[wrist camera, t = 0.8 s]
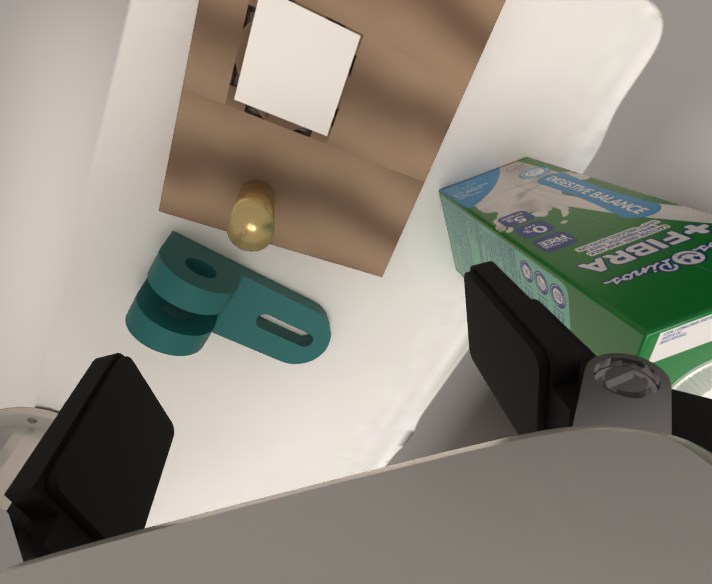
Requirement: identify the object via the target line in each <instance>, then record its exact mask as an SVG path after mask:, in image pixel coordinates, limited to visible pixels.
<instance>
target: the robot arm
mask: <svg viewBox="0 0 712 584" xmlns="http://www.w3.org/2000/svg"><path fill="white" fill-rule="evenodd" d="M464 283H465V297H466V310H467V324H468V337H469V349H470V353H471V356H472V359H473V361H474V363H475V364H476V366H477V368H478V369H479V371H480V373H481V374H482V376H483V378H484V379H485V381H486V382H487V384H488V386H489V387H490V389H491V390H492V392H493V394H494V396H495V397H496V399H497V400H498V402H499V404H500V405H501V407H502V409H503V410H504V412H505V414H506V415H507V417H508V418H509V420H510V422H511V423H512V425H513V426H514V428H515V430H516V431H517V433H518V435H517V436H512V437H508V438H503V439H499V440H495V441H490V442H486V443H482V444H477V445H473V446H469V447H464V448H460V449H456V450H452V451H447V452H443V453H439V454H435V455H431V456H427V457H423V458H419V459H415V460H412V461H407V462H403V463H399V464H395V465H391V466H387V467H383V468H379V469H375V470H371V471H367V472H363V473H359V474H355V475H351V476H347V477H343V478H339V479H335V480H331V481H327V482H323V483H319V484H315V485H311V486H308V487H304V488H300V489H296V490H292V491H288V492H284V493H280V494H276V495H272V496H268V497H264V498H261V499H257V500H253V501H249V502H245V503H241V504H237V505H233V506H229V507H225V508H222V509H218V510H214V511H210V512H206V513H202V514H198V515H195V516H191V517H187V518H183V519H179V520H176V521H172V522H168V523H164V524H160V525H156V526H153V527H149V528H145V525H146V521H147V518H148V515H149V512H150V509H151V506H152V503H153V500H154V496H155V493H156V490H157V487H158V484H159V481H160V478H161V474H162V471H163V468H164V465H165V462H166V459H167V456H168V452H169V449H170V446H171V443H172V440H173V437H174V427H173V424H172V422H171V420H170V419H169V417H168V416H167V414H166V412H165V411H164V409H163V408H162V406H161V405H160V403H159V401H158V400H157V398H156V397H155V395H154V393H153V392H152V390H151V389H150V387H149V385H148V384H147V382H146V381H145V379H144V378H143V376H142V374H141V373H140V371H139V370H138V368H137V366H136V365H135V363H134V362H133V360H132V359H131V358H130V357H127V356H126V357H125V356H124V355H122V354H120V353H116V354H112V355H108V356H104V357H100V358H97V359H95V360H94V361H93V362H92V364H91V365H90V367H89V368H88V370H87V371H86V373H85V374H84V376H83V377H82V379H81V380H80V382H79V383H78V385H77V386H76V388H75V389H74V391H73V392H72V394H71V395H70V397H69V398H68V400H67V401H66V403H65V404H64V406H63V407H62V409H61V410H60V412H59V413H56V412H53V411H49V410H45V409H39V408H30V407H29V408H28V407H16V408H15V407H14V408H5V409H0V584H712V399H710V398H706V397H702V396H698V395H694V394H690V393H686V392H682V391H678V390H674V389H672V386H671V382H670V379H669V377H668V375H667V374H666V373H665V372H664V370H663V369H661V368H660V367H659V366H657V365H656V364H654V363H653V362H651V361H649V360H646V359H644V358H642V357H638V356H635V355H631V354H624V353H608V354H603V355H600V356H596V355H595V354H594V353H593V352H592V351H591V350H590V349H589V348H588V347H587V346H586V345H585V344H584V343H583V342H582V341H581V340H580V339H579V338H578V337H577V336H576V335H574V334H573V333H572V332H571V331H570V330H569V329H568V328H567V327H566V326H565V325H564V324H563V323H562V322H561V321H560V320H559V319H558V318H557V317H556V316H555V315H554V314H553V313H551V312H550V311H549V310H548V309H547V308H546V307H545V306H544V305H543V304H542V303H541V302H540V301H538V300H537V299H531V298H530V297H529V296H528V295H527V294H526V293H525V292H524V291H523V290H521V289H520V288H519V287H518V286H517V285H516V284H515V283H514V282H513V281H512V280H511V279H510V278H509V277H508V276H507V275H506V274H505V273H504V272H503V271H502V270H501V269H500V268H499V267H498V266H497V265H496V264H495V263H494V262H493V261H488V262H484V263H480V264H476V265H472V266H471V267H470V272H466V273H465V274H464ZM144 528H145V529H144Z"/></svg>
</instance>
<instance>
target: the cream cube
mask: <svg viewBox="0 0 712 584" xmlns="http://www.w3.org/2000/svg"><path fill="white" fill-rule="evenodd" d="M360 37H361V36H360V35H358V34H356V33H354V32H352V31H350V30H348V29H346V28H344V27H342V26H339V25H337V24H335V23H333V22H331V21H329V20H327V19H325V18H323V17H321V16H319V15H317V14H315V13H313V12H311V11H309V10H307V9H305V8H303V7H301V6H299V5H297V4H295V3H293V2H290V1H288V0H258V2H257V7H256V11H255V15H254V19H253V23H252V27H251V32H250V36H249V40H248V44H247V48H246V52H245V56H244V61H243V65H242V69H241V73H240V77H239V81H238V85H237V90H236V94H235V98H234V100H237V101H239V102H242V103H244V104H247V105H249V106H252V107H254V108H257V109H259V110H262V111H264V112H267V113H269V114H272V115H275V116H277V117H280V118H282V119H285V120H287V121H290V122H292V123H295V124H297V125H300V126H302V127H305V128H307V129H310V130H312V131H315V132H317V133H320V134H322V135H325V136H327V135H328V132H329V129H330V126H331V123H332V120H333V117H334V114H335V111H336V108H337V105H338V102H339V99H340V96H341V93H342V90H343V87H344V84H345V81H346V78H347V75H348V72H349V69H350V66H351V63H352V60H353V57H354V54H355V51H356V48H357V46H358V43H359V40H360Z"/></svg>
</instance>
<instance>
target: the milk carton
mask: <svg viewBox="0 0 712 584" xmlns="http://www.w3.org/2000/svg"><path fill="white" fill-rule="evenodd" d="M439 192H440V196H441V201H442V206H443V210H444V215H445V219H446V224H447V228H448V233H449V237H450V242H451V247H452V251H453V256H454V260H455V265H456V269H457V271H458V272H459V273H460V274H461V275H462V276H463V277H464V274H465V273H466V272H470V267H471V266H472V265H476V264H480V263H484V262H488V261H493V262H494V263H495V264H496V265H497V266H498V267H499V268H500V269H501V270H502V271H503V272H504V273H505V274H506V275H507V276H508V277H509V278H510V279H511V280H512V281H513V282H514V283H515V284H516V285H517V286H518V287H519V288H520V289H521V290H523V291H524V292H525V293H526V294H527V295H528V296H529V297H530V298H531V299H537V300H538V301H540V302H541V303H542V304H543V305H544V306H545V307H546V308H547V309H548V310H549V311H550V312H551V313H553V314H554V315H555V316H556V317H557V318H558V319H559V320H560V321H561V322H562V323H563V324H564V325H565V326H566V327H567V328H568V329H569V330H570V331H571V332H572V333H573V334H574V335H576V336H577V337H578V338H579V339H580V340H581V341H582V342H583V343H584V344H585V345H586V346H587V347H588V348H589V349H590V350H591V351H592V352H593V353H594V354H595V355H596V356H600V355H603V354H608V353H624V354H631V355H635V356H638V357H642V358H644V359H646V360H649V361H651V362H653V363H654V364H656V365H657V366H659V367H660V368H661V369H663V370H664V372H665V373H666V374H667V375H668V377H669V379H670V382H671V386H672V389H674V390H678V391H682V392H686V393H690V394H694V395H698V396H702V397H706V398H710V399H712V215H710V214H707V213H704V212H701V211H697V210H694V209H691V208H688V207H685V206H681V205H678V204H675V203H672V202H669V201H665V200H662V199H659V198H656V197H653V196H649V195H646V194H643V193H640V192H637V191H633V190H630V189H627V188H624V187H621V186H618V185H614V184H611V183H608V182H605V181H602V180H598V179H595V178H592V177H589V176H586V175H583V174H579V173H576V172H573V171H570V170H567V169H563V168H560V167H557V166H554V165H551V164H547V163H544V162H541V161H538V160H535V159H532V158H528V157H527V158H525V159H522V160H519V161H517V162H514V163H511V164H508V165H506V166H503V167H500V168H498V169H495V170H492V171H490V172H487V173H484V174H482V175H479V176H476V177H474V178H471V179H468V180H466V181H463V182H460V183H457V184H455V185H452V186H449V187H447V188H444V189H441V190H439Z"/></svg>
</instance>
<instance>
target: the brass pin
mask: <svg viewBox="0 0 712 584" xmlns="http://www.w3.org/2000/svg"><path fill="white" fill-rule="evenodd" d="M274 228H275V194H274V191H273V190H272V188H271V187H270V186H269V185H268V184H267V183H265V182H263V181H260V180H251V181H248V182H246V183H245V184H244V185H243V186H242V187H241V188H240V190H239V193H238V195H237V198H236V201H235V204H234V206H233V209H232V212H231V215H230V218H229V220H228V223H227V233H228V236H229V238H230V240H231V241H232V243H233V244H234V245H235V246H237V247H238V248H240V249H242V250H245V251H251V252H253V251H259V250H262V249H264V248H265V247H267V246H268V245H269V244H270V243H271V241H272V239H273V237H274Z"/></svg>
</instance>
